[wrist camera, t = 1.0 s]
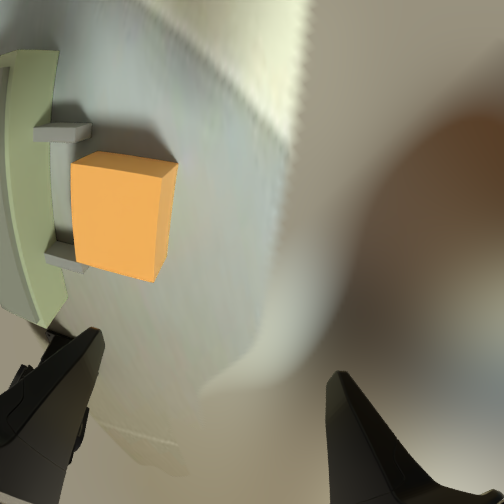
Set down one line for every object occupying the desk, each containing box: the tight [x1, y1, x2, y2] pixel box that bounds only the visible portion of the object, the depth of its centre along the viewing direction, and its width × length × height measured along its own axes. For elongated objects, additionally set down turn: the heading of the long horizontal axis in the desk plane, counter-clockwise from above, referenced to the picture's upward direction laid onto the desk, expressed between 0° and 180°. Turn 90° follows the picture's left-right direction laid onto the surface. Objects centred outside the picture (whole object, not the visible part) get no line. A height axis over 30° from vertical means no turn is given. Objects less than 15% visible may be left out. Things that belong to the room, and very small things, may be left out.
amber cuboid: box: [71, 151, 178, 283], centre depth 17 cm, size 7×6×4 cm
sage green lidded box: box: [0, 50, 92, 329], centre depth 15 cm, size 22×10×5 cm, turn 168°
